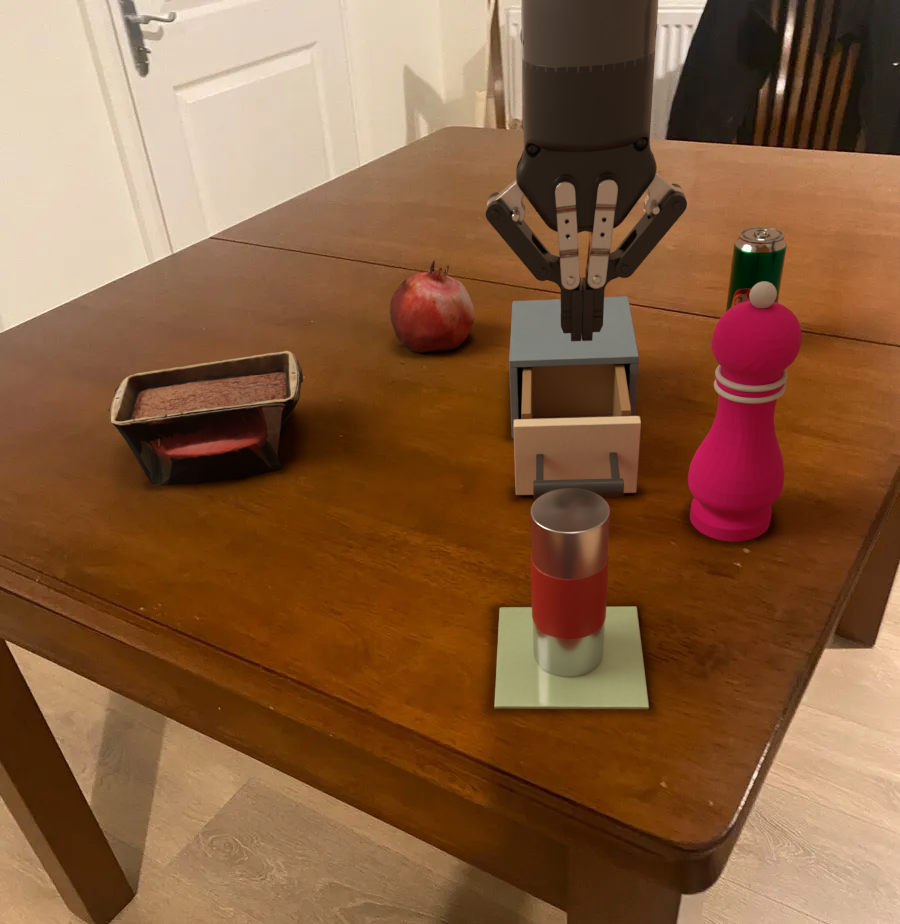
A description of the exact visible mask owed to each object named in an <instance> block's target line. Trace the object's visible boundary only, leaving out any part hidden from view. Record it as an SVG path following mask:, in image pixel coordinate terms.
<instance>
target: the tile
mask: <svg viewBox="0 0 900 924" xmlns="http://www.w3.org/2000/svg"><path fill="white" fill-rule="evenodd" d="M497 630H498V631H497V649H496V666H495V684H494V687H495V688H494V703H493V707H494V709H495V710H497V709H498V710H499V709H500V710H503V709H504V710H509V709H510V710H649V709H650V703H649V694H648V686H647V679H646V678H647V677H646V671H645V670H646V669H645V662H644V653H643V645H642V637H641V629H640V622H639V613H638V607H637V606H636V605H635V606H634V605H632V606H629V605H628V606H627V605H626V606H624V605H623V606H622V605H621V606H620V605H619V606H606V619H605V630H604V652H603V659H602V661H601V663H600V664H599V665H598V667H597V668H595V669H594V670H593V671H591V672H589V673H587V674H585V675H581V676H576V677H562V676H557V675H553V674H551V673H549V672H547V671H545V670H544V669H542V668H541V667H540V666H539V665H538V664H537V662H536V660H535V658H534V653H533V619H532V606H508V607H507V606H506V607H505V606H501V607H499V610H498V627H497Z"/></svg>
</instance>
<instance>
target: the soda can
mask: <svg viewBox="0 0 900 924" xmlns="http://www.w3.org/2000/svg"><path fill="white" fill-rule="evenodd" d="M785 235H786V234H785V232H784V231H783V230H781V229H780V228H779V229H778V228H775V227H771V226H770V227H769V226H754V227H753V226H751V227H747V228H745V229H742V230H741V231H739V233H738V238H737V239H736V240H735V242H734V243H733V248H732V258H731V265H730V274H729V280H728V281H729V282H728V290H727V297H726V298H727V299H726V305H725V306H726V307H725V312H726V311H728V310H729V309H730V308H732V307H734V306H735V305H738V304H740V303H743V302H746V301H750V298H749V294H750V291H751V289H752V287H753V286H754V285H756V284H757V283H759V282H762V281H765V282H769V283H772V284H773V285H774V286H775V288H776V291H777V296H776V299H775V301H774V302H776V303H779V298H780V291H781V285H782V280H783V279H782V278H783V273H784V272H783V271H784V266H785V259H786V253H787V248H788V247H787V246H788V245H787V242H786V239H785Z"/></svg>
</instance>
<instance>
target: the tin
mask: <svg viewBox="0 0 900 924" xmlns="http://www.w3.org/2000/svg"><path fill="white" fill-rule="evenodd" d="M529 513H530V551H531V554H530V589H531V592H530V593H531V607H532V619H533V653H534V658H535V660H536V662H537V664H538V665H539V666H540V667H541V668H542V669H544V670H545V671H547V672H549V673H551V674H553V675H557V676H562V677H576V676H581V675H585V674H587V673H589V672H591V671H593V670H594V669H595V668H597V667H598V665H599V664H600V663H601V661H602V659H603V652H604V630H605V619H606V607H607V604H608V603H607V601H608V600H607V599H608V582H609V579H608V578H609V559H610V557H609V555H610V554H609V541H610V522H611V508H610V505H609V504H608V502H607V500H605V498H604V497H601V496H599V495H597V494H595V493H593V492H590V491H587V490H583V489H574V488H567V489H558V490H554V491H550V492H548V493H545V494H543V495H542V496H540V497H539V498H535V500H534V501H533V504H531V507H530V512H529Z"/></svg>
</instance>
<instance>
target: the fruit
mask: <svg viewBox="0 0 900 924" xmlns="http://www.w3.org/2000/svg"><path fill="white" fill-rule="evenodd" d="M435 265H436V260H435V259H433V261H432V262H431V265H430V267H429V271H428V272H417V273H414V274H412V275H409V276H407V277H406V278H404V279H403V281H402V282H401V283H400V284H399V285H398V287H397V289H396V290H395V291H394V293H393V295H392V296H391V299H390V303H389V315H390V323H391V325H392V328H393V331H394V334H395V336H396V337H397V339H398V340H399V341H400V342H401V344H403V345H404V347H406V348H407V350H408V349H409V350H410V351H413V352H415V353H419V354H420V353H421V354H422V353H429V352H430V353H431V352H443V351H444V352H445V351H451V350H455V349H457V348H458V347H460V346H461V345H462V344H463V343H464V342H465V340H466V339H467V337H468V336H469V334H470V333H471V331H472V328H473V325H474V323H475V319H476V316H475V310H474V309H475V308H474V305H473V302H472V301H473V300H472V299H471V296H470V295H469V292H468V290H467V289H466V287H465V285H464V284H463V283H462V282H461V281H460V280H457V279H456V278H453V277H452V276H450V275H448V273H449V270H450V266H449V264H447V266H446V267H445V268H444V271H443V268H442V267H439V268H435Z"/></svg>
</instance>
